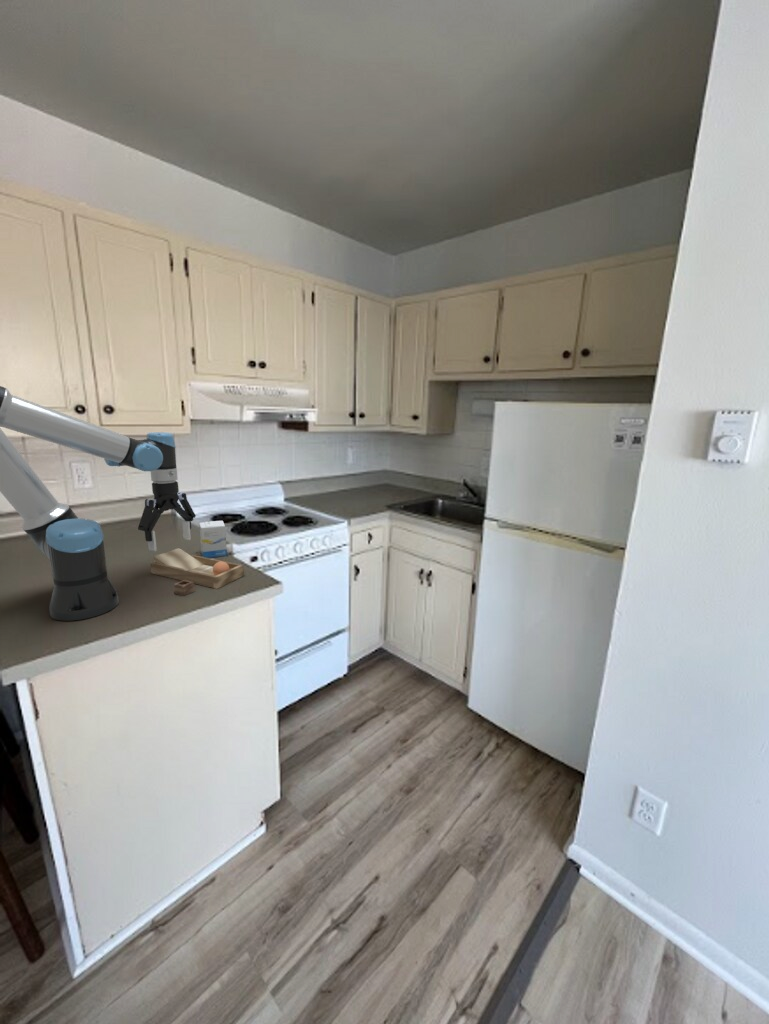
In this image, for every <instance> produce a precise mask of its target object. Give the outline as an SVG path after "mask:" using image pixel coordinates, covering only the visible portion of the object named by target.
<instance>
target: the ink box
mask: <svg viewBox="0 0 769 1024" xmlns="http://www.w3.org/2000/svg"><path fill="white" fill-rule="evenodd" d="M198 526H199V539H200V552H201V554H202V556H201V557H206V558H211V559H212V558H218V557H226V556H228V552H227V551H228V550H227V536H226V535H227V533H226V525H225V523H224V521H223V520H213V521H212V520H210V521H204V522H203V521H202V522H199V524H198Z"/></svg>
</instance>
